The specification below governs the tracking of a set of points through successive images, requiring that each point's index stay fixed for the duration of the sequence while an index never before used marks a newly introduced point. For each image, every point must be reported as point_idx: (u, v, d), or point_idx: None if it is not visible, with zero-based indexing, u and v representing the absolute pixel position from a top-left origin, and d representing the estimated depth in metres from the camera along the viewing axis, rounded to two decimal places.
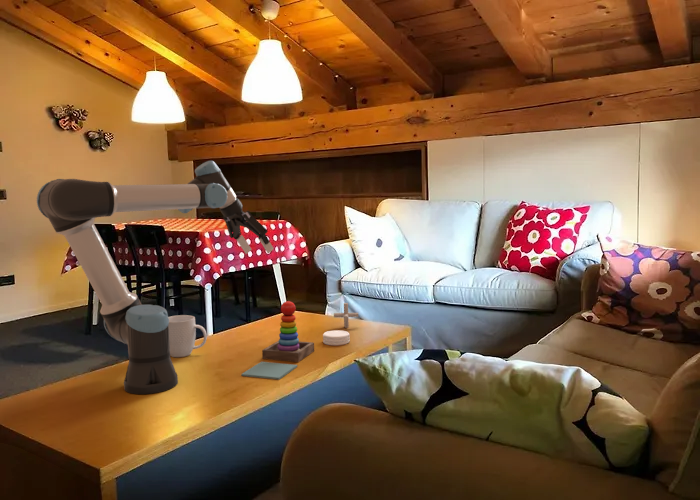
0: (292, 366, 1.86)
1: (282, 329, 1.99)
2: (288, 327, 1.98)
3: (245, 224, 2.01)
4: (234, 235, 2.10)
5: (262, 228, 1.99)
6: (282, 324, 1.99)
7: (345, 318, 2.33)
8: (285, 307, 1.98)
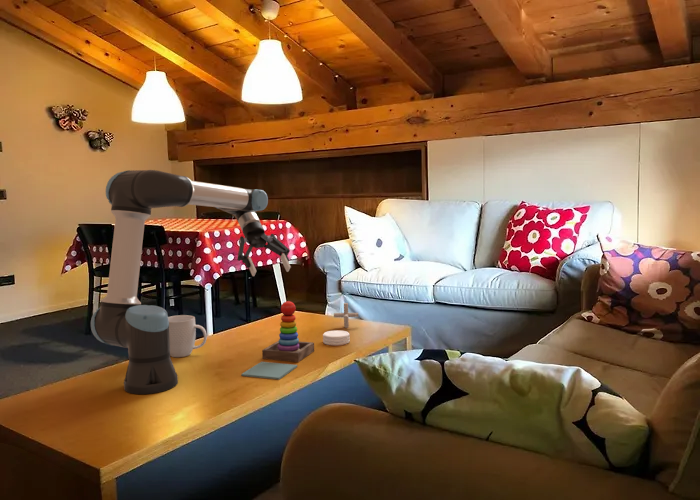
0: (292, 366, 1.86)
1: (282, 329, 1.99)
2: (288, 327, 1.99)
3: None
4: (247, 253, 2.06)
5: None
6: (282, 324, 1.99)
7: (345, 318, 2.33)
8: (285, 307, 1.98)
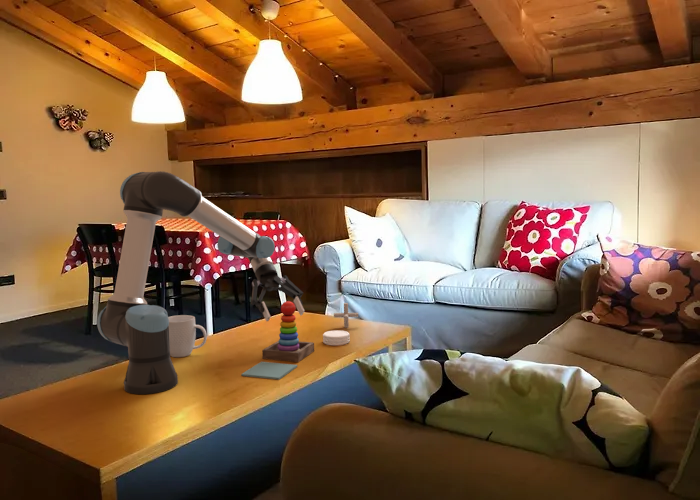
0: (292, 366, 1.86)
1: (282, 329, 1.99)
2: (288, 327, 1.98)
3: None
4: (260, 297, 2.03)
5: None
6: (282, 324, 1.99)
7: (345, 318, 2.33)
8: (285, 307, 1.98)
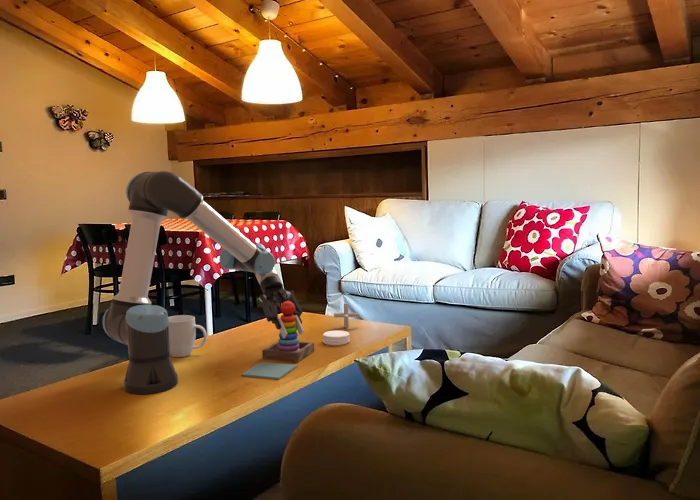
0: (292, 366, 1.86)
1: None
2: (288, 327, 1.98)
3: None
4: (275, 313, 1.99)
5: None
6: None
7: (345, 318, 2.33)
8: (285, 307, 1.98)
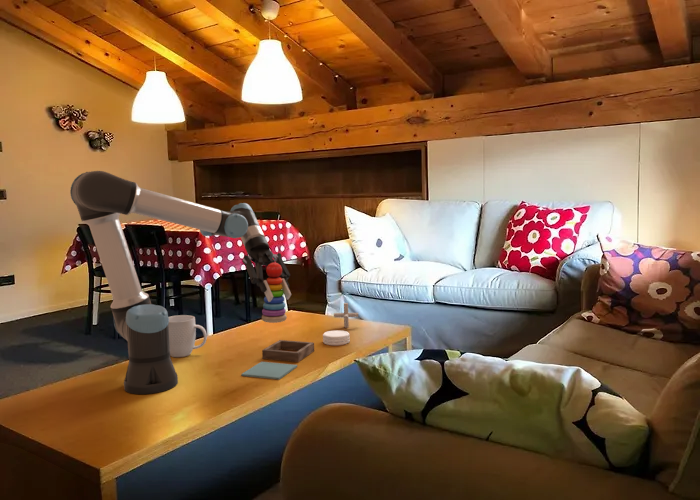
0: (292, 366, 1.86)
1: None
2: (274, 290, 1.84)
3: None
4: (261, 275, 1.84)
5: None
6: None
7: (345, 318, 2.33)
8: (271, 268, 1.83)
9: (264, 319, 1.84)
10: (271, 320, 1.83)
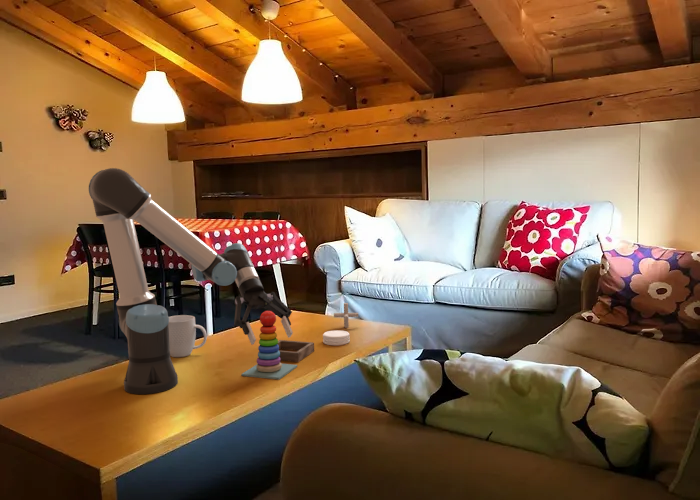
0: (292, 366, 1.86)
1: (261, 341, 1.81)
2: (268, 340, 1.81)
3: None
4: (245, 317, 1.80)
5: None
6: (261, 336, 1.81)
7: (345, 318, 2.33)
8: (265, 317, 1.80)
9: (259, 369, 1.81)
10: (266, 370, 1.80)
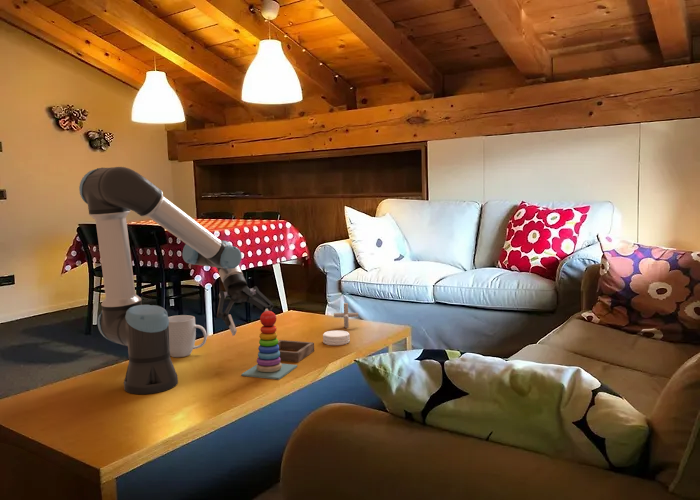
0: (292, 366, 1.86)
1: (261, 341, 1.81)
2: (268, 340, 1.81)
3: None
4: (227, 310, 1.91)
5: None
6: (261, 336, 1.81)
7: (345, 318, 2.33)
8: (265, 317, 1.80)
9: (259, 369, 1.81)
10: (266, 370, 1.80)
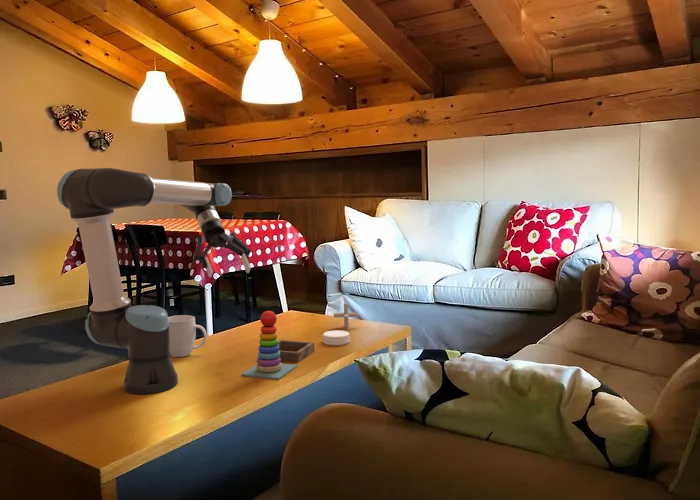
0: (292, 366, 1.86)
1: (261, 341, 1.81)
2: (268, 340, 1.81)
3: None
4: (204, 253, 1.94)
5: None
6: (261, 336, 1.81)
7: (345, 318, 2.33)
8: (265, 317, 1.80)
9: (259, 369, 1.81)
10: (266, 370, 1.80)
